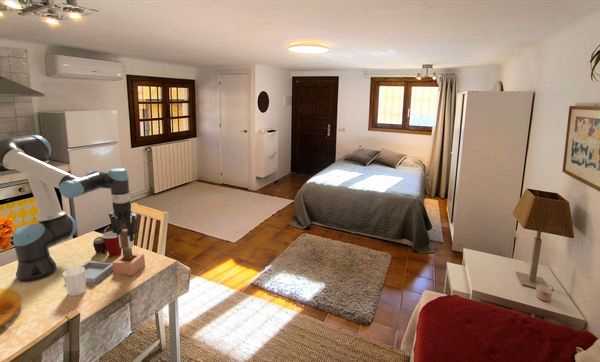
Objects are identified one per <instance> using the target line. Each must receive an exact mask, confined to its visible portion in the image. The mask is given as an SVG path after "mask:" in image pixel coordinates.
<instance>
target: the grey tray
mask: <svg viewBox="0 0 600 362" xmlns="http://www.w3.org/2000/svg"><path fill="white" fill-rule="evenodd" d="M79 267H84V268H85V275H86V285H96V284H97V283H99V282H101V280H103V279H104V278H106V277H107V276H109V274H111V273H113V272H114V271H113V264H112V262H104V261H103V262H102V261H93V260H87V261H86V262H85V263H83V264H82V265H80V266H79Z"/></svg>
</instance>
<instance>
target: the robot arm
mask: <svg viewBox="0 0 600 362" xmlns="http://www.w3.org/2000/svg"><path fill="white" fill-rule="evenodd" d="M50 144H51V143H50V142H48V140H47V139H46V138H44V137H43V136H42V135H38V134H28V135H27V134H26V135H19V136H18V135H17V136H12V137H4V138H0V166H1V167H3V168H5V169H7V170H16V171H17V172H20V173H22V174H24V175H26V178H27V181H28V183H29V186H30V189H31V192H32V195H33V197H34V201H35V203H36V207H37V208H38V212H39V214H40V217H39V218H38V220H37V221H38V223H30V224H27V225H24V226H21V227H19V228H17V229H16V230H15V231H14V232H13V235H12V244H13V245H14V249H15V254H16V258H17V268H16V272H15V278H16V280H17V281H18V282H21V283H31V282H35V281H40V280H43V279H46V278H48V277H49V276H50V277H51V276H52V275H53V274H55V272H57V270H58V267H57V263H56V262H55V260H54V259H53V258H52V256H51V254H50V249H49V248H51V247H53V246H56V245H57V244H59V243H61V242H63V241H66V240H68V239H69V238H71V237H72V236H73V235H74V234H75V233H76V231H77V223H76V220H75V219H74V218H73V216H71V215H69V214H67V212H66V211H64V210H63V209H62V207H61V204H60V201H59V198H58V196H57V192H56V190H55V188H56V189H59V192H60V194H61V195H62V197H64V198H65V199H73V198H77V197H78V198H79V197H81V196H82V195H85V194H88V193H90V192H91V193H92V192H93V191H97V190H100V189H109V190H110V194H111V202H112V209H113V211H112V212H109V213H108V218H109V219H110V225H111V231H112V232H113V233H116V234H117V239H118V240H119V245H120V247H122V242H121V234H120V231H121V230H123V223H124V224H125V228H126V229H127V231H128V234H129V235H128V236H127V237H128V246H129V248H131V247H132V248H133V247H134V245H135V244H134V241H135V235H136V234H138V231H139V230H138V219H137V218H138V213H133V212H132V202H131V194H130V193H131V191H130V187H129V182H130V181H129V174H128V170H127V169H126V168H123V167H120V168H119V167H116V168H111V169H108V171H98V170H90V171H87V172H86V173H85V174H84V175H83V176H75V175H73V174H70V173H69V172H66V171H64V170H63V169H60V168H57V167H55V166H53V165H51V164H49V162H50V160H49V157H50V156H51V152H52V147H51V145H50Z"/></svg>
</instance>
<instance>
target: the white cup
mask: <svg viewBox="0 0 600 362" xmlns="http://www.w3.org/2000/svg"><path fill="white" fill-rule="evenodd" d="M62 277H63V281H64V285H65V289H66V290H67V295H68V296H70V297H75V296H80V295H82V294H83V293H85V292H86V291H87V284H86V275H85V268H84V267H80V266H74V267H71V268H67V269H66V270H65V271H63V273H62Z"/></svg>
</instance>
